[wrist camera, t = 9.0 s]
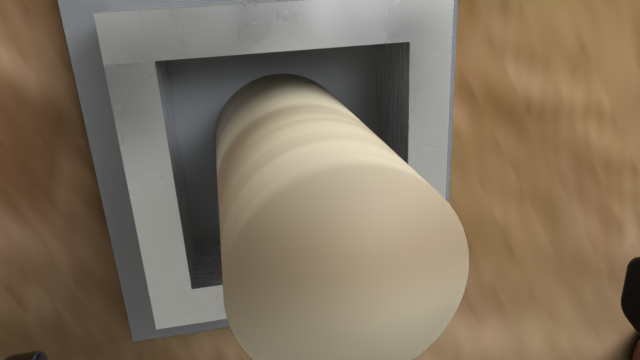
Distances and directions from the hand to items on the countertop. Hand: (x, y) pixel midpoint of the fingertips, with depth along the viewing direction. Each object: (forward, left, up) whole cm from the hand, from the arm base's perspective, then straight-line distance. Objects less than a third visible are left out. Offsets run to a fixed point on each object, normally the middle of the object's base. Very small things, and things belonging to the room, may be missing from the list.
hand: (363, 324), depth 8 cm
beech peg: (0, 0, -10) cm, 10 cm away
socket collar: (0, 0, -11) cm, 11 cm away
